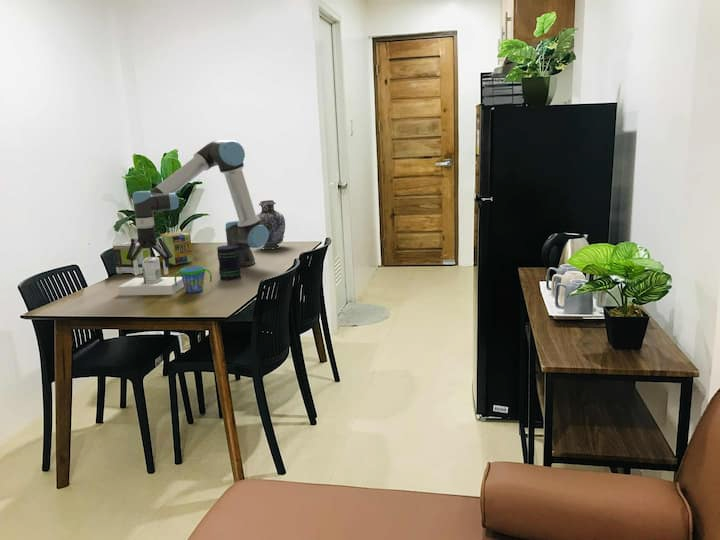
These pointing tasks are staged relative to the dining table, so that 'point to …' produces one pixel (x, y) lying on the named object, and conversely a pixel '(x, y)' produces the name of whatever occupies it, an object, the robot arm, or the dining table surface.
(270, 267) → the dining table surface
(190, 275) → the snack cup
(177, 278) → the flat white box
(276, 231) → the decorative vase
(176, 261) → the protein box
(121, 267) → the tea box
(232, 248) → the storage jar
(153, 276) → the syrup box
